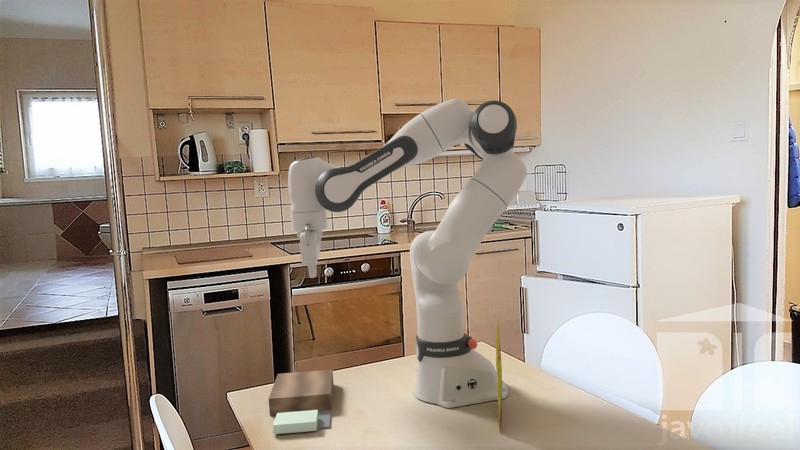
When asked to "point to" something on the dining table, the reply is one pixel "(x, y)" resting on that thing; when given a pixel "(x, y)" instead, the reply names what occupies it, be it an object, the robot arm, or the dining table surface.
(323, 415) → the mat
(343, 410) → the dining table surface
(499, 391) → the food package
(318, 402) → the board
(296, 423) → the mint green block
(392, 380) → the dining table surface
